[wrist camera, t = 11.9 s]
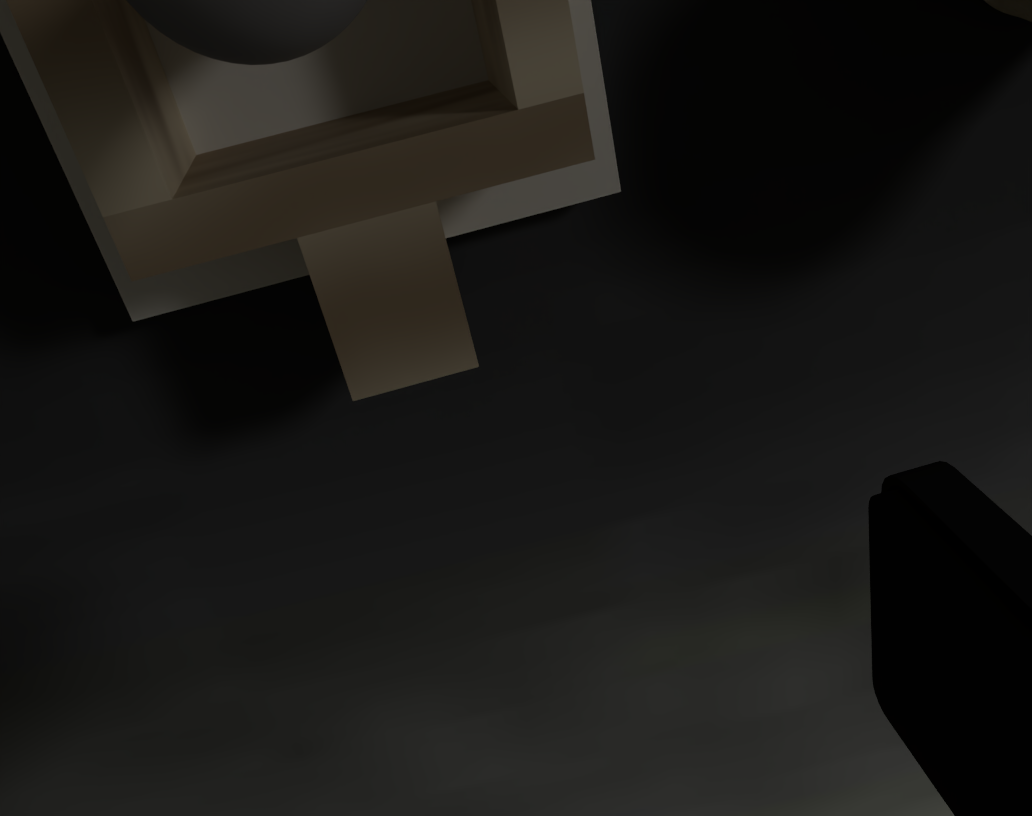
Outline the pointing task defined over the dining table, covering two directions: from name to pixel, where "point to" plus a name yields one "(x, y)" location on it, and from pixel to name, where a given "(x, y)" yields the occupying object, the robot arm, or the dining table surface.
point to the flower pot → (1013, 7)
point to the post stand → (315, 109)
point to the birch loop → (318, 173)
